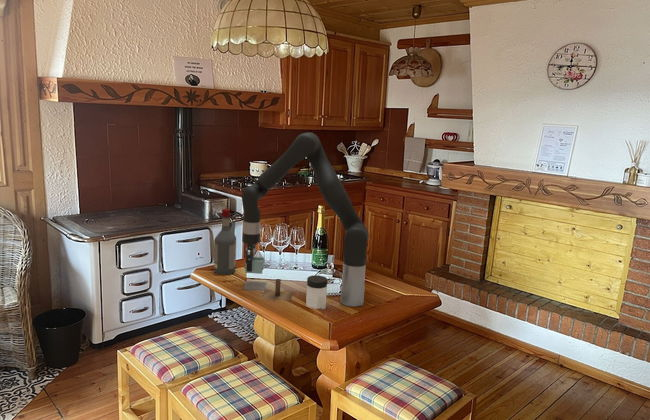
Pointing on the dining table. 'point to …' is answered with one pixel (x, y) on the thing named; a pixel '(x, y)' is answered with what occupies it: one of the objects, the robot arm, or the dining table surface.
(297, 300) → the dining table surface
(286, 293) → the post stand
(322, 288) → the jar
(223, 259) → the liquor
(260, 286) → the trivet
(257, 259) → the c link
